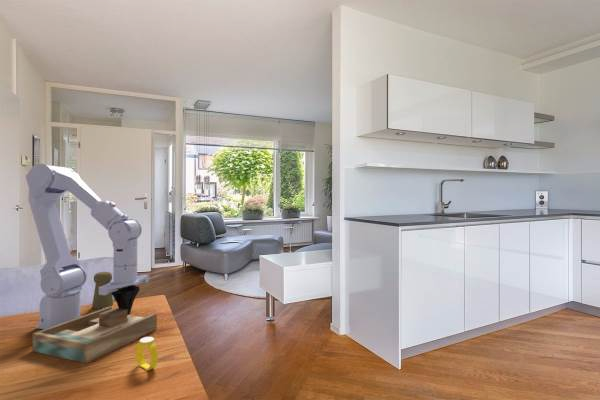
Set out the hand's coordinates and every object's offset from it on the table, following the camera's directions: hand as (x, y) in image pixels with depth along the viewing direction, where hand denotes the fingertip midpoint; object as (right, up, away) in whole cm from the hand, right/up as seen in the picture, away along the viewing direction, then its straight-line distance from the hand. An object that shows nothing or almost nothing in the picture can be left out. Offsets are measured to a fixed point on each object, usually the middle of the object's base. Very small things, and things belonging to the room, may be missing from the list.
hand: (125, 314), depth 89 cm
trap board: (-2, -4, -7) cm, 8 cm away
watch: (+16, -4, -21) cm, 26 cm away
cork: (-17, -4, +18) cm, 25 cm away
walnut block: (-1, -1, -4) cm, 4 cm away
